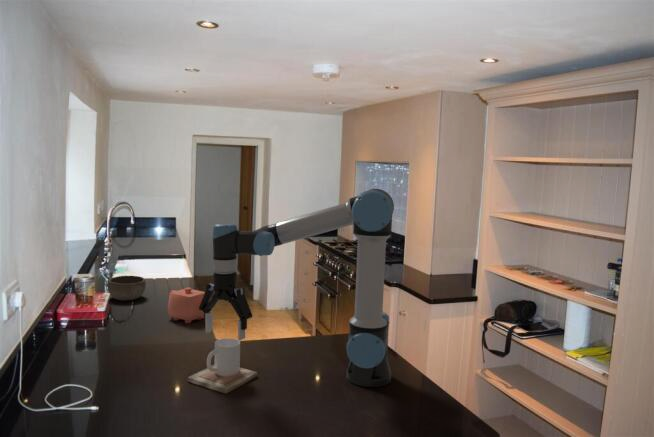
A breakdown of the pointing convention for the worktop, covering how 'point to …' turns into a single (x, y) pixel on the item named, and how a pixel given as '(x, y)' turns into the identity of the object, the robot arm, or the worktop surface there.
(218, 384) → the board
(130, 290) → the bowl
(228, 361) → the mug
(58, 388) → the worktop surface
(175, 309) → the teapot
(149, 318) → the worktop surface
